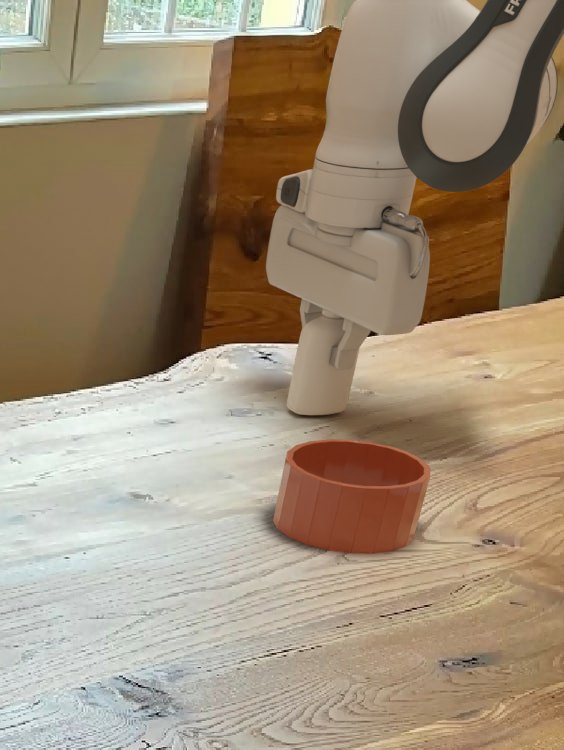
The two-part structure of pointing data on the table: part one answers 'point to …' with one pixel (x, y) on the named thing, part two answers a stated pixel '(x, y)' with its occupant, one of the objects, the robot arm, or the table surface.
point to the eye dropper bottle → (319, 369)
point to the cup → (351, 496)
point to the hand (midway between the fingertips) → (325, 360)
